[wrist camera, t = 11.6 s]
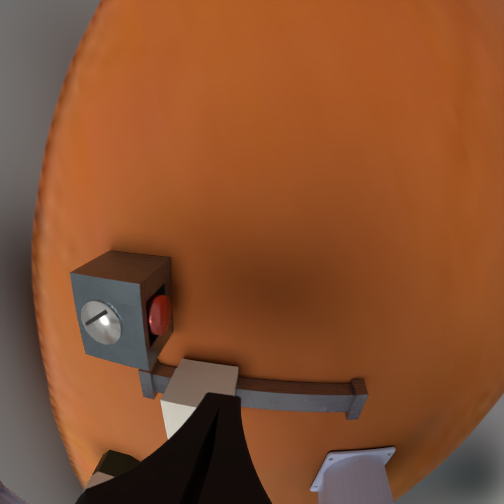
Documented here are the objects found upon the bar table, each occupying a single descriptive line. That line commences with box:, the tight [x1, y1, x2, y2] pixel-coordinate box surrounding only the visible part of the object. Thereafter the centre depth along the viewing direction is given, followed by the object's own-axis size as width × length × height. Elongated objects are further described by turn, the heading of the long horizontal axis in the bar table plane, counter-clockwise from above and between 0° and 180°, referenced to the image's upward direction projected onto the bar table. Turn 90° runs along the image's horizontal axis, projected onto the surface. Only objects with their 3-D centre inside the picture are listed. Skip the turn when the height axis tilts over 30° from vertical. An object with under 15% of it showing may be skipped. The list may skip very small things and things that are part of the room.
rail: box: [138, 359, 368, 420], centre depth 21 cm, size 3×18×2 cm, turn 86°
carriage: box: [161, 359, 238, 439], centre depth 19 cm, size 5×4×5 cm
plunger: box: [146, 294, 171, 336], centre depth 18 cm, size 3×4×3 cm, turn 86°
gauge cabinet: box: [70, 251, 173, 371], centre depth 18 cm, size 6×5×5 cm
